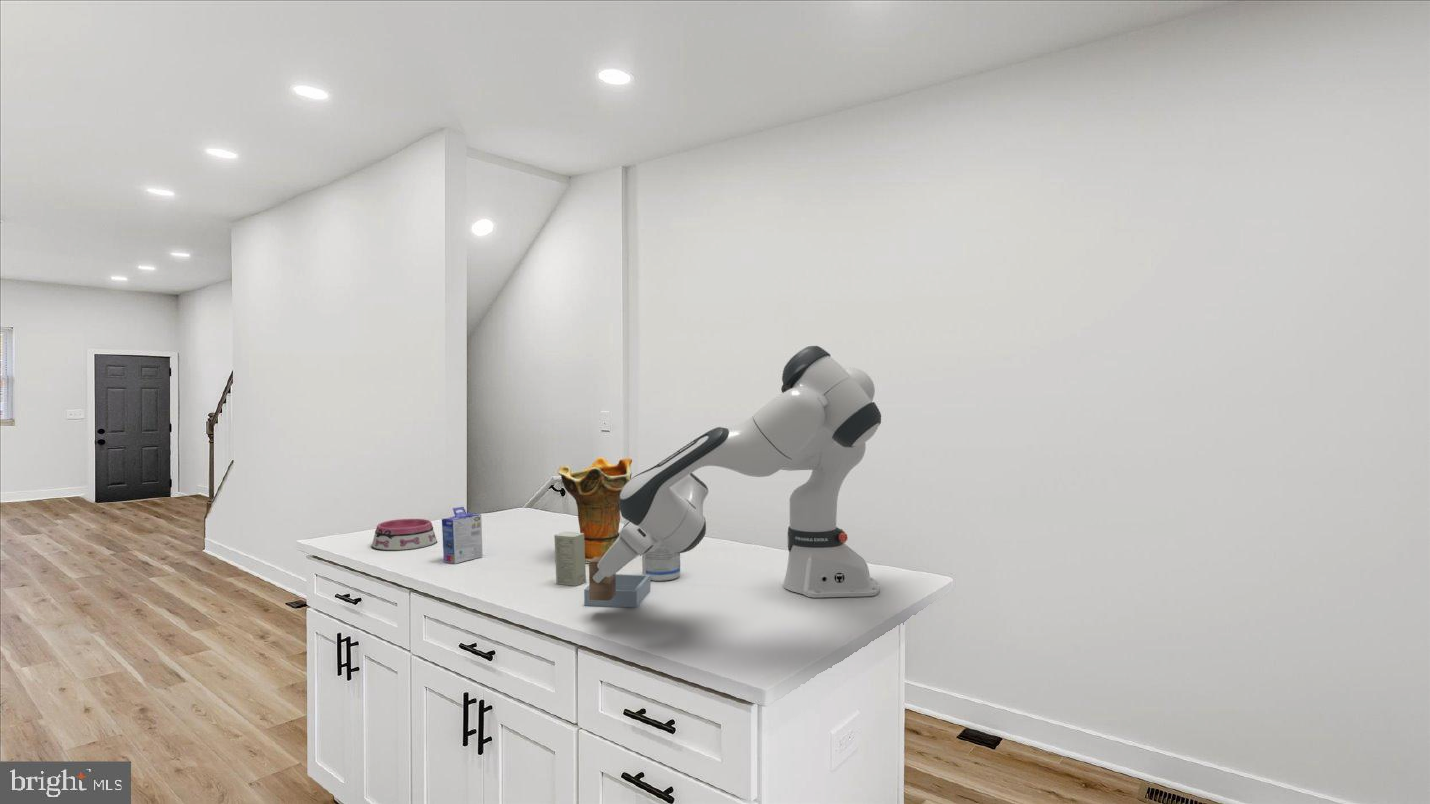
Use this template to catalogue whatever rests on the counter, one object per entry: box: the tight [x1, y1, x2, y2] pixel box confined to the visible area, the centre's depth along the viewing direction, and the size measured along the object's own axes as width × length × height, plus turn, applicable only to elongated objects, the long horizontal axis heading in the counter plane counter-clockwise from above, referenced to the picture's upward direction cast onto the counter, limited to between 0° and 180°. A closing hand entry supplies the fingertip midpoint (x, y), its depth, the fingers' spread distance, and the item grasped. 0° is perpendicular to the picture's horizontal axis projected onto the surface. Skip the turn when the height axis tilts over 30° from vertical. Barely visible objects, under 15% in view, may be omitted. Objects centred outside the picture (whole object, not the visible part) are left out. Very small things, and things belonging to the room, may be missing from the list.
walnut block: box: [588, 557, 616, 600], centre depth 155 cm, size 4×4×8 cm
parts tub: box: [583, 573, 652, 608], centre depth 168 cm, size 12×14×4 cm
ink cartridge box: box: [441, 506, 484, 565], centre depth 205 cm, size 10×6×14 cm, turn 148°
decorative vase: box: [557, 456, 633, 564], centre depth 207 cm, size 21×23×28 cm
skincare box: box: [553, 531, 587, 587], centre depth 180 cm, size 6×4×12 cm
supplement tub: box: [641, 544, 681, 582], centre depth 185 cm, size 10×10×15 cm
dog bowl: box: [371, 518, 438, 552], centre depth 225 cm, size 18×19×7 cm
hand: (599, 576), depth 155 cm, fingers closed on walnut block, 4 cm apart
